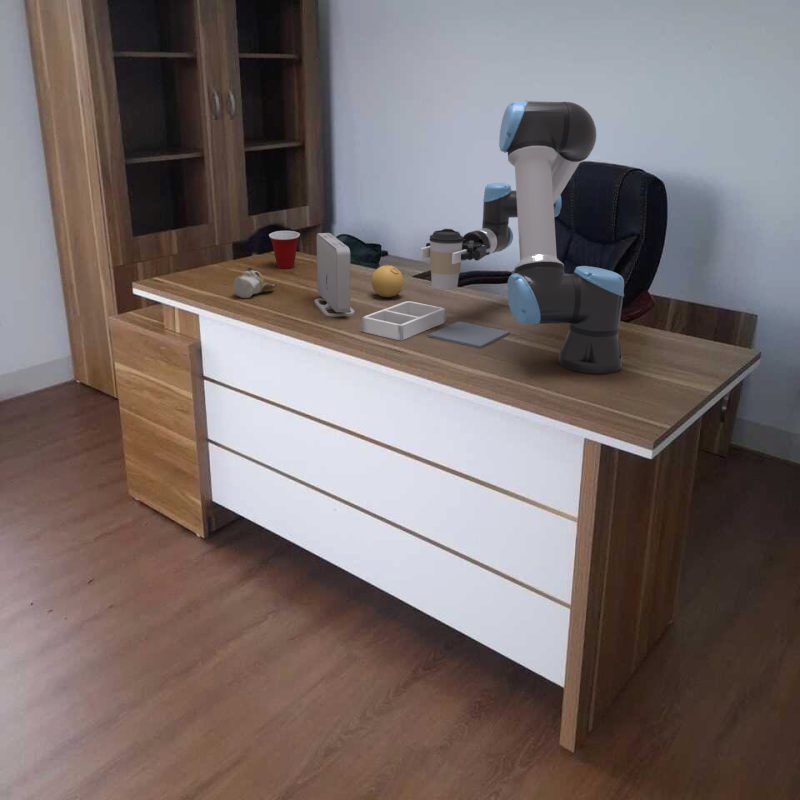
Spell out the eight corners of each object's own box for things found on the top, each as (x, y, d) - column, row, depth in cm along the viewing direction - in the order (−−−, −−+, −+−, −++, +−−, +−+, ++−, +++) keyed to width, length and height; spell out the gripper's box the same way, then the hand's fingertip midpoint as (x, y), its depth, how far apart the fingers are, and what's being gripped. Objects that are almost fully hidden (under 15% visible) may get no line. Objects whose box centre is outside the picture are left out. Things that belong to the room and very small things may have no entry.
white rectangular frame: (445, 322, 231) (446, 308, 230) (401, 340, 214) (401, 326, 213) (407, 314, 238) (407, 300, 236) (361, 331, 221) (361, 317, 220)
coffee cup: (459, 291, 216) (462, 234, 211) (425, 289, 218) (427, 232, 212) (463, 284, 224) (465, 228, 219) (430, 281, 226) (432, 227, 220)
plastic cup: (265, 269, 287) (264, 235, 282) (275, 263, 297) (274, 230, 292) (295, 271, 285) (295, 237, 281) (304, 265, 295) (303, 231, 291)
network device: (310, 297, 253) (309, 232, 245) (337, 296, 255) (337, 231, 248) (329, 320, 230) (328, 249, 223) (359, 318, 233) (359, 248, 225)
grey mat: (509, 333, 222) (509, 331, 222) (480, 348, 210) (480, 346, 210) (458, 323, 230) (459, 321, 230) (427, 336, 218) (428, 334, 218)
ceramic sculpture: (222, 269, 248) (248, 262, 261) (223, 297, 250) (249, 289, 264) (253, 273, 244) (278, 266, 257) (253, 301, 247) (278, 293, 260)
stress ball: (392, 302, 250) (393, 270, 246) (365, 297, 254) (365, 265, 250) (408, 295, 258) (409, 264, 254) (381, 291, 262) (382, 260, 258)
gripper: (512, 262, 227) (472, 276, 210) (444, 252, 239) (402, 264, 221) (514, 234, 225) (474, 247, 207) (445, 226, 236) (402, 236, 218)
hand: (437, 256), depth 214 cm, fingers closed on coffee cup, 9 cm apart
